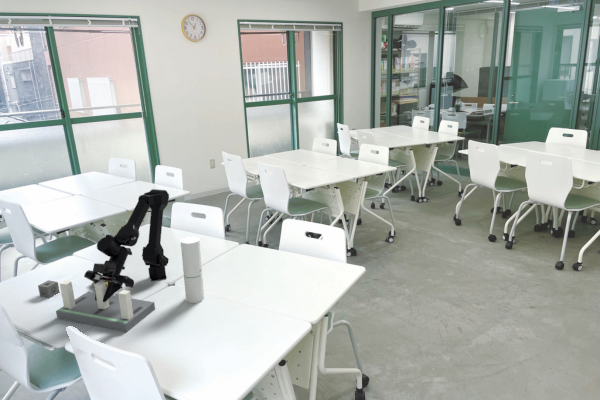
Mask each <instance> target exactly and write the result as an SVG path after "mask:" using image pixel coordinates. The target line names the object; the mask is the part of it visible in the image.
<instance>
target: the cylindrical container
mask: <svg viewBox="0 0 600 400" xmlns="http://www.w3.org/2000/svg"><path fill="white" fill-rule="evenodd" d="M180 248H181V250H180V251H181V259H182V271H183V280H184V281H183V283H184V290H185V291H184V292H185V301H186V303H189V304H196V303H197V304H198V303H200V301H201V302H202V301H204V300H205V289H204V278H203V277H204V276H203V274H204V273H203V265H202V263H203V262H202V252H201V240H200V237H197V236H187V237H184V238H182V239H180Z"/></svg>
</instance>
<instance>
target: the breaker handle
mask: <svg viewBox="0 0 600 400" xmlns="http://www.w3.org/2000/svg"><path fill="white" fill-rule="evenodd" d="M94 285H95V287H94V292H96V298H97V304H98V308H99V309H106V308H108V307H109V299H108V300H107V301H106V302H103V298H104V295H105V293H106V290H107V286H106V282H98V283H96V284H94Z"/></svg>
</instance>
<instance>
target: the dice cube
mask: <svg viewBox="0 0 600 400" xmlns="http://www.w3.org/2000/svg"><path fill="white" fill-rule="evenodd" d="M37 287H38V292H39V297H41V298H44V297H45V299H50V298H53V297H55V296H57V295H58V293H59V294H60V292H61V291H60V285H59V282H58V281H56V280H55V281H54V280H46V281H44V282H42V283H40V284H39V285H37ZM56 294H57V295H56ZM54 295H55V296H54Z"/></svg>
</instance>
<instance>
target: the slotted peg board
mask: <svg viewBox="0 0 600 400" xmlns="http://www.w3.org/2000/svg"><path fill="white" fill-rule="evenodd" d="M59 289H60V292H61V298H62V304H63V306H62V307H60V308H59V309H57V310H56V311H55V315H56V317H57V319H59V320H64V321H70V322H74V323H80V324H85V325H90V326H93V327H94V326H95V327H100V328H105V329H110V330H113V331H115V330H116V331H119V332H125V333H127V332H129V331H130V330H131V329H133V328H134V327H136V326H137V325H138V324H139V323H140V322H141V321H143V320H144V319H145V318H146V317H147V316H149V315H150V314H151V313H153V312H154V311H155V310H156V305H155V301H150V300H149V301H148V300H144V299H137V298H132V296H131V294H132V293H131V290H126V289H123V290H120V291H118V295H114V294H113V295H112V296H111V297H110V298H109V307H108V308H106V309H99V308H98V304H97V301H96V300H95V292H96V291H91V290H89V291H86V292H85V293H83V294H82V295H80V296H78V297H77V298H75V294H74V289H73V283H72V281H69V280H63V281H61V282H60V283H59Z"/></svg>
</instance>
